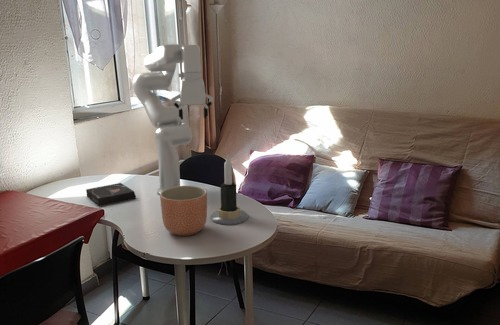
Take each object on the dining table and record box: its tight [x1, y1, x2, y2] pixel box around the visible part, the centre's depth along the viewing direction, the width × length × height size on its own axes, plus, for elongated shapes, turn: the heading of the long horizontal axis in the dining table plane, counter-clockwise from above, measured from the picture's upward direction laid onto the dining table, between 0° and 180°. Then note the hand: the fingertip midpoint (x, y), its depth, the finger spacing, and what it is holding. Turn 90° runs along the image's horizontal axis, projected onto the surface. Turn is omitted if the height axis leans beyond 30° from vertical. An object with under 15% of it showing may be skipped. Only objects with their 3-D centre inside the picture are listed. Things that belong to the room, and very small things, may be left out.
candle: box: [220, 154, 238, 212], centre depth 176 cm, size 5×5×25 cm
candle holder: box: [210, 205, 249, 226], centre depth 179 cm, size 15×15×4 cm
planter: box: [159, 185, 208, 237], centre depth 165 cm, size 17×17×15 cm
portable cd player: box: [85, 182, 137, 207], centre depth 204 cm, size 16×17×4 cm
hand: (193, 118), depth 183 cm, fingers open, 9 cm apart
